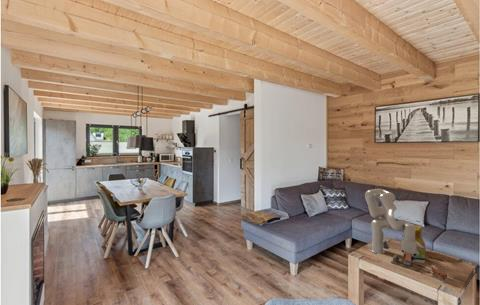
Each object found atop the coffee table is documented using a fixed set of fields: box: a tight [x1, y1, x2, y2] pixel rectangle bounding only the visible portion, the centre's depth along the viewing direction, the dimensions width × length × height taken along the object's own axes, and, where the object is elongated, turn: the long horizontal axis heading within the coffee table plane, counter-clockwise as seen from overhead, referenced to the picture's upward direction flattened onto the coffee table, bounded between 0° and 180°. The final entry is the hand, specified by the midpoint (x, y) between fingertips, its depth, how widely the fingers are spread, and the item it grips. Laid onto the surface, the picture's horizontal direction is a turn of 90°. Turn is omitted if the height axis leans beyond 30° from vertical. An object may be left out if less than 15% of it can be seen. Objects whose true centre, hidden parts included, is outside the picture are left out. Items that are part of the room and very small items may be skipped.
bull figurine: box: [429, 264, 448, 283], centre depth 186 cm, size 4×13×8 cm, turn 7°
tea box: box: [413, 241, 426, 264], centre depth 214 cm, size 15×10×15 cm
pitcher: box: [414, 224, 426, 248], centre depth 229 cm, size 17×19×25 cm
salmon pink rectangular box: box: [403, 252, 413, 267], centre depth 202 cm, size 5×8×13 cm, turn 133°
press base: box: [390, 253, 426, 274], centre depth 202 cm, size 22×12×6 cm, turn 43°
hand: (408, 259), depth 202 cm, fingers closed on salmon pink rectangular box, 4 cm apart
